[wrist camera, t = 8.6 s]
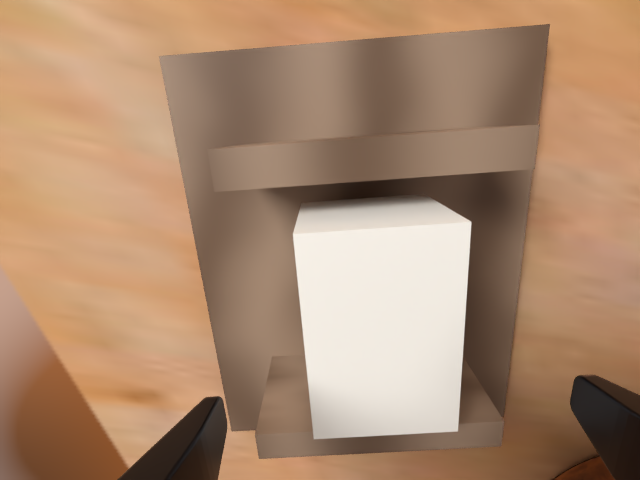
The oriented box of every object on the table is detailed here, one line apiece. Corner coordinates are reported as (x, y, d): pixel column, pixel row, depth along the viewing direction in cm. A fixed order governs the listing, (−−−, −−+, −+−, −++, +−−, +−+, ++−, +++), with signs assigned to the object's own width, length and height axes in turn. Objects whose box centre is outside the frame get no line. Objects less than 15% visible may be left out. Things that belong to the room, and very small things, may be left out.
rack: (534, 31, 14) (674, -36, 9) (495, 403, 21) (562, 507, 15) (169, 61, 15) (74, 15, 9) (235, 417, 21) (203, 524, 15)
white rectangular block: (420, 351, 16) (457, 431, 12) (315, 357, 16) (313, 439, 12) (424, 193, 14) (471, 221, 9) (301, 202, 14) (292, 234, 9)
